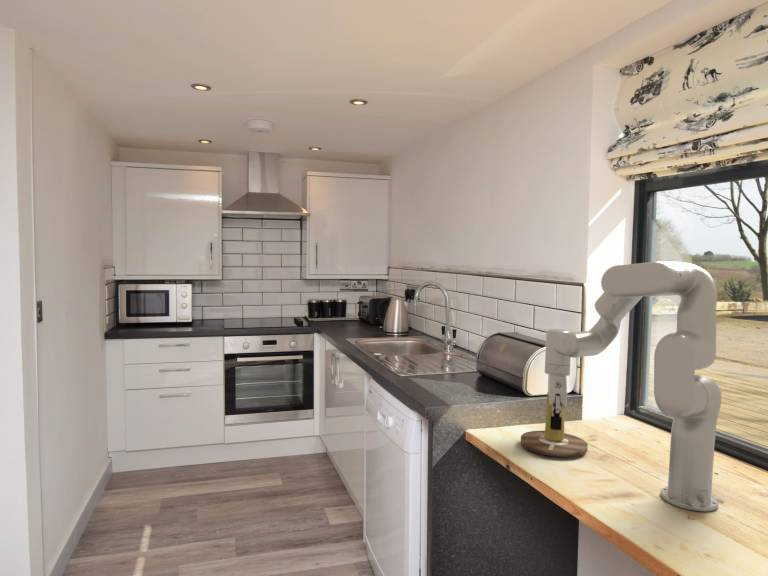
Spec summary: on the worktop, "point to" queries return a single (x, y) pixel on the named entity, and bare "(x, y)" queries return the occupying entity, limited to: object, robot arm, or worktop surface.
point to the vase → (550, 433)
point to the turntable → (554, 444)
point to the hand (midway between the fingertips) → (554, 425)
